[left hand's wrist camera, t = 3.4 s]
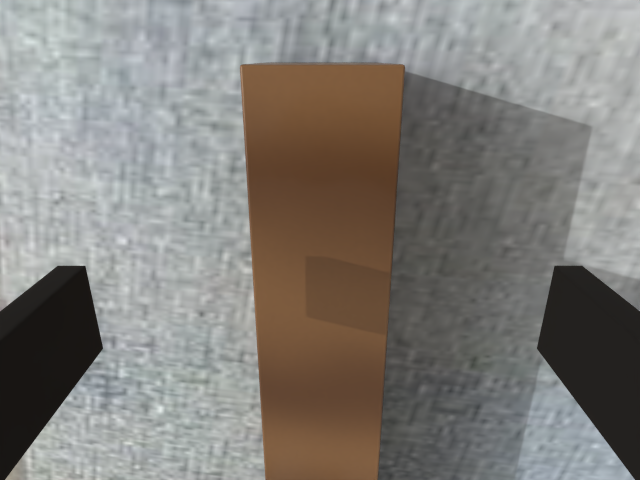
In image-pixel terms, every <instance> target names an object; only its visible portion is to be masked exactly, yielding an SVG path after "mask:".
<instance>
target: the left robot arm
mask: <svg viewBox="0 0 640 480" xmlns="http://www.w3.org/2000/svg"><path fill="white" fill-rule="evenodd" d="M102 349H103V346H102V342H101V337H100V332H99V328H98V323H97V318H96V314H95V309H94V304H93V300H92V295H91V290H90V286H89V281H88V276H87V272H86V267H85V266H57V267H56V268H55V269H53V270H52V271H51V272H50V273H48V274H47V275H46V276H44V277H43V278H42V279H41V280H39V281H38V282H37V283H36V284H34V285H33V286H32V287H31V288H29V289H28V290H27V291H26V292H24V293H23V294H22V295H20V296H19V297H18V298H17V299H15V300H14V301H13V302H12V303H10V304H9V305H8V306H7V307H5V308H4V309H3V310H2V311H0V480H5V479H6V478H7V476H8V475H9V473H10V472H11V471H12V469H13V468H14V467H15V465H16V464H17V463H18V461H19V460H20V459H21V457H22V456H23V455H24V453H25V452H26V451H27V449H28V448H29V447H30V445H31V444H32V443H33V441H34V440H35V439H36V437H37V436H38V435H39V433H40V432H41V431H42V429H43V428H44V427H45V425H46V424H47V423H48V421H49V420H50V419H51V417H52V416H53V415H54V413H55V412H56V411H57V409H58V408H59V407H60V405H61V404H62V403H63V401H64V400H65V399H66V397H67V396H68V395H69V393H70V392H71V391H72V389H73V388H74V387H75V385H76V384H77V383H78V381H79V380H80V379H81V377H82V376H83V375H84V373H85V372H86V371H87V369H88V368H89V367H90V365H91V364H92V363H93V361H94V360H95V359H96V357H97V356H98V355H99V353H100V352H101V351H102ZM537 349H538V351H539V352H540V353H541V355H542V356H543V357H544V359H545V360H546V361H547V363H548V364H549V365H550V367H551V368H552V369H553V371H554V372H555V373H556V375H557V376H558V377H559V379H560V380H561V381H562V383H563V384H564V385H565V387H566V388H567V389H568V391H569V392H570V393H571V395H572V396H573V397H574V399H575V400H576V401H577V403H578V404H579V405H580V407H581V408H582V409H583V411H584V412H585V413H586V415H587V416H588V417H589V419H590V420H591V421H592V423H593V424H594V425H595V427H596V428H597V429H598V431H599V432H600V433H601V435H602V436H603V437H604V439H605V440H606V441H607V443H608V444H609V445H610V447H611V448H612V449H613V451H614V452H615V453H616V455H617V456H618V457H619V459H620V460H621V461H622V463H623V464H624V465H625V467H626V468H627V469H628V471H629V472H630V473H631V475H632V476H633V478H634V479H635V480H640V311H638V310H637V309H636V308H635V307H633V306H632V305H631V304H630V303H628V302H627V301H626V300H625V299H623V298H622V297H621V296H620V295H618V294H617V293H616V292H614V291H613V290H612V289H611V288H609V287H608V286H607V285H606V284H604V283H603V282H602V281H601V280H599V279H598V278H597V277H596V276H594V275H593V274H592V273H590V272H589V271H588V270H587V269H585V268H584V267H583V266H555V267H554V272H553V276H552V281H551V286H550V290H549V295H548V300H547V304H546V309H545V314H544V318H543V323H542V328H541V332H540V337H539V342H538V346H537Z"/></svg>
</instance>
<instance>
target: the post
mask: <svg viewBox="0 0 640 480" xmlns="http://www.w3.org/2000/svg"><path fill="white" fill-rule="evenodd" d="M240 75H241V91H242V107H243V124H244V140H245V156H246V172H247V188H248V204H249V221H250V237H251V253H252V269H253V285H254V301H255V318H256V334H257V350H258V366H259V382H260V399H261V415H262V431H263V447H264V463H265V479H266V480H378V471H379V456H380V440H381V425H382V410H383V395H384V379H385V364H386V349H387V334H388V319H389V303H390V288H391V273H392V258H393V242H394V227H395V212H396V197H397V181H398V166H399V151H400V136H401V121H402V105H403V90H404V75H405V66H404V65H402V64H389V63H255V64H243V65H241V66H240Z"/></svg>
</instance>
